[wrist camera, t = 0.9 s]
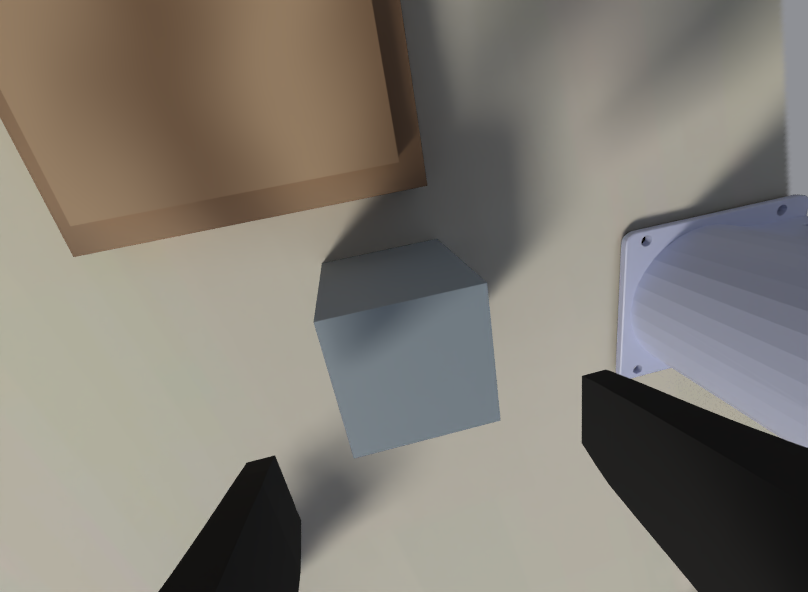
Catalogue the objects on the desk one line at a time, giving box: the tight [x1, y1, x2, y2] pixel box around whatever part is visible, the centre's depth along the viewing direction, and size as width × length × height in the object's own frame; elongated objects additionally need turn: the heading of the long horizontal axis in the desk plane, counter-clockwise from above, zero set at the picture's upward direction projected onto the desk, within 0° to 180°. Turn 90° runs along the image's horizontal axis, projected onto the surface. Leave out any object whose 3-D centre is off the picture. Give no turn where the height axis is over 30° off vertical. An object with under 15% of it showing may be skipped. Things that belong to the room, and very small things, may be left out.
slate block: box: [314, 239, 500, 458], centre depth 14 cm, size 5×5×6 cm
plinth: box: [0, 0, 427, 257], centre depth 11 cm, size 12×12×3 cm
